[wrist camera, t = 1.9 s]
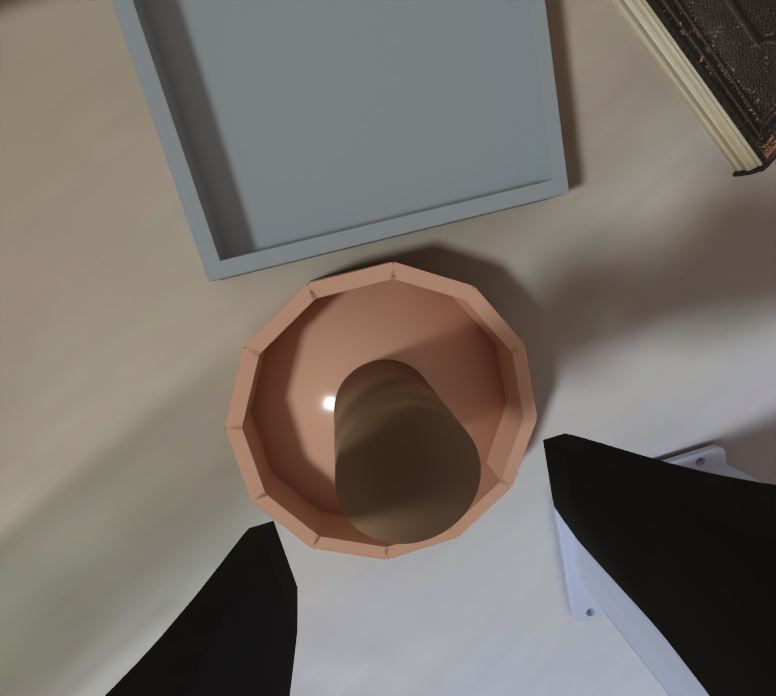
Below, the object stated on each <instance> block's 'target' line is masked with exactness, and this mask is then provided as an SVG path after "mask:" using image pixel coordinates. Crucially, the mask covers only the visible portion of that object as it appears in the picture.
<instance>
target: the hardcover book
mask: <svg viewBox="0 0 776 696" xmlns="http://www.w3.org/2000/svg"><path fill="white" fill-rule="evenodd" d="M610 1H611V2H612V3H613V5H614V6H615V7H616V9H617V10H618V11H619V13H620V14H621V15H622V17H623V18H624V20H625V21H626V22H627V24H628V25H629V26H630V28H631V29H632V30H633V32H634V33H635V34H636V36H637V37H638V39H639V40H640V41H641V43H642V44H643V45H644V47H645V48H646V49H647V51H648V52H649V53H650V55H651V56H652V58H653V59H654V60H655V62H656V63H657V64H658V66H659V67H660V68H661V70H662V71H663V72H664V74H665V75H666V77H667V78H668V79H669V81H670V82H671V83H672V85H673V86H674V87H675V89H676V90H677V91H678V93H679V94H680V96H681V97H682V98H683V100H684V101H685V102H686V104H687V105H688V106H689V108H690V109H691V110H692V112H693V113H694V114H695V116H696V117H697V119H698V120H699V121H700V123H701V124H702V125H703V127H704V128H705V129H706V131H707V132H708V133H709V135H710V136H711V138H712V139H713V140H714V142H715V143H716V144H717V146H718V147H719V148H720V150H721V151H722V152H723V154H724V155H725V157H726V158H727V159H728V161H729V162H730V163H731V165H732V166H733V167H734V169H735V170H736V171H735V172H734V173H733V174H732V175H733V176H743V175H750V174H754V173H757V172H761V171H764V170H765V169H766V168H767V167H769V165H770V164H771V163H772V162H773V161H774V160H775V159H776V0H610Z"/></svg>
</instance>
